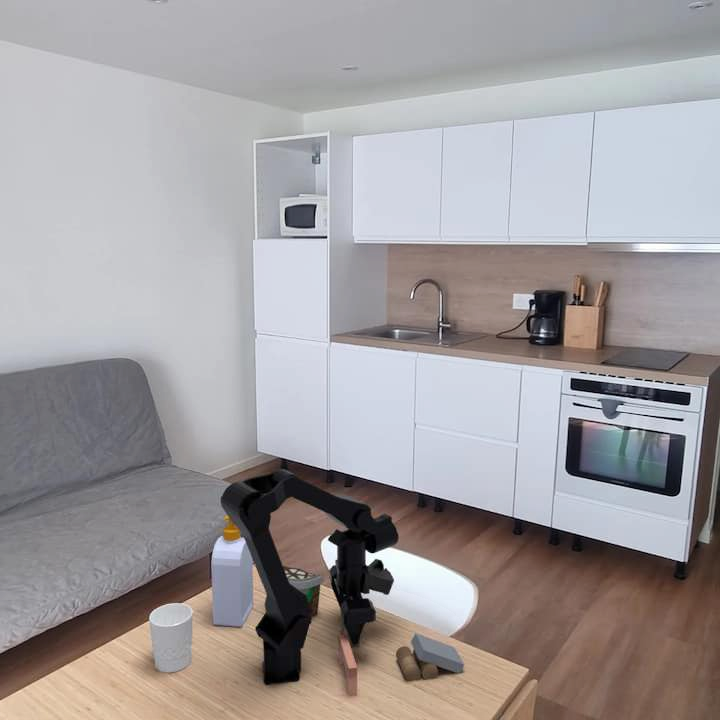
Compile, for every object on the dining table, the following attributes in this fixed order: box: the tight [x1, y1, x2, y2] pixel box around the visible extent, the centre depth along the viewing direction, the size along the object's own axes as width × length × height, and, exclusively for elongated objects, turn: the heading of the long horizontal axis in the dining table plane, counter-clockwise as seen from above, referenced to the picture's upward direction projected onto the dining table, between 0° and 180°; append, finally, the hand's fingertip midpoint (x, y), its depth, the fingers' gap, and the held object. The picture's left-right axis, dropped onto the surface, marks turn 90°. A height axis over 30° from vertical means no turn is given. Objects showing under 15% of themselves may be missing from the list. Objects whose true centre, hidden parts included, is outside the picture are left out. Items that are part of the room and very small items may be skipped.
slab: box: [410, 632, 465, 674], centre depth 124 cm, size 9×6×2 cm, turn 102°
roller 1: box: [340, 620, 362, 649], centre depth 133 cm, size 3×6×3 cm, turn 11°
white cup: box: [148, 602, 194, 674], centre depth 124 cm, size 8×8×10 cm
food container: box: [283, 565, 324, 618], centre depth 140 cm, size 12×6×10 cm, turn 62°
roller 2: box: [395, 645, 422, 682], centre depth 123 cm, size 3×6×3 cm
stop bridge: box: [338, 633, 358, 697], centre depth 120 cm, size 2×10×6 cm, turn 12°
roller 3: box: [412, 649, 439, 680], centre depth 124 cm, size 3×6×3 cm
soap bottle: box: [210, 514, 254, 628], centre depth 139 cm, size 9×7×23 cm
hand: (350, 630), depth 133 cm, fingers open, 9 cm apart
